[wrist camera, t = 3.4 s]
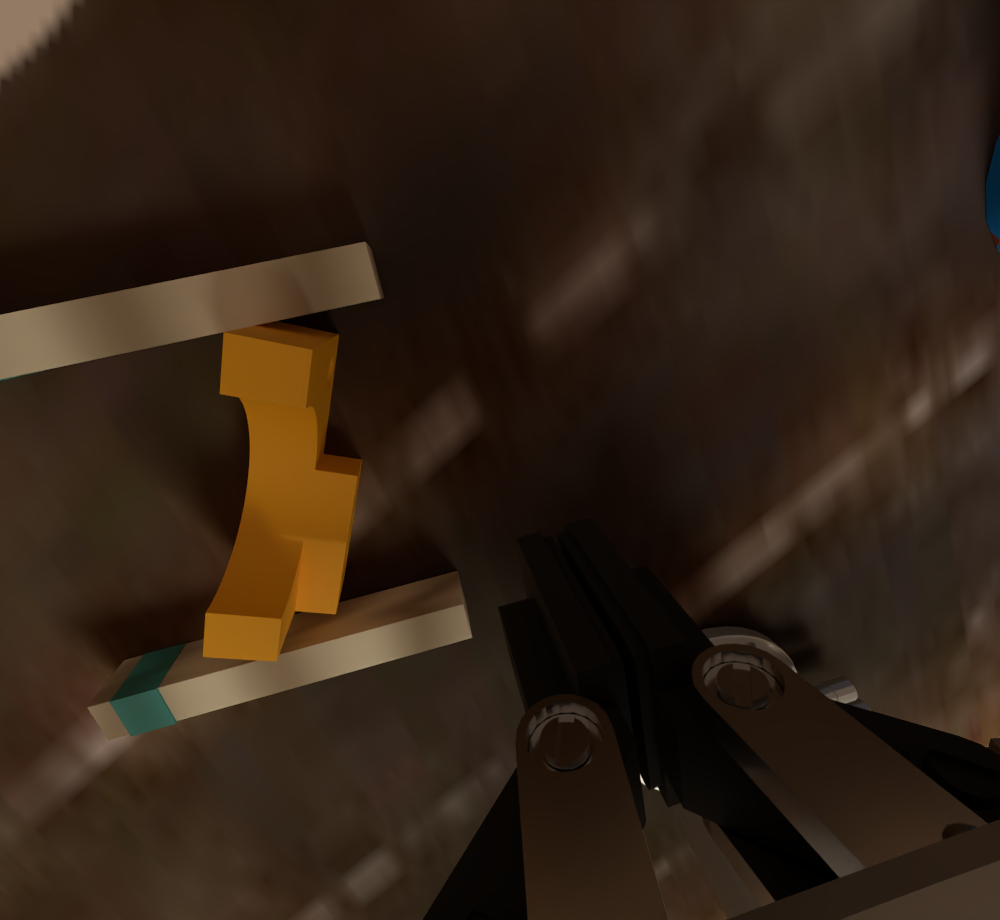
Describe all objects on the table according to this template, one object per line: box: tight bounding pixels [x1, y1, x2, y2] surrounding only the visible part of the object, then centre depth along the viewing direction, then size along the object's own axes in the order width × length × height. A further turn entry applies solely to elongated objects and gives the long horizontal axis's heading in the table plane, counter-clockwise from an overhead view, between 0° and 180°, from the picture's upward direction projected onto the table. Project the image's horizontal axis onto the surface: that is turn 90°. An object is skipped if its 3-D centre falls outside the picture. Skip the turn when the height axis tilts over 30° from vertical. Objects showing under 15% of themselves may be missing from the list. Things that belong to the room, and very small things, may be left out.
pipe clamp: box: [203, 321, 362, 662], centre depth 20 cm, size 12×4×6 cm, turn 167°
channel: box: [0, 242, 472, 740], centre depth 21 cm, size 17×18×3 cm
